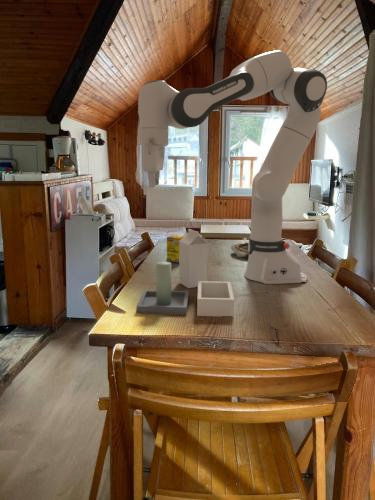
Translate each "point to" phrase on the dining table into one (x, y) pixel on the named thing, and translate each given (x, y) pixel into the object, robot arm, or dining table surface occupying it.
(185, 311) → the tray
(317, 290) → the dining table surface
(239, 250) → the pie
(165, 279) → the dowel pin
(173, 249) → the supplement box
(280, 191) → the robot arm
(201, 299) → the white open box
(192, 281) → the milk carton
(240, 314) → the dining table surface
